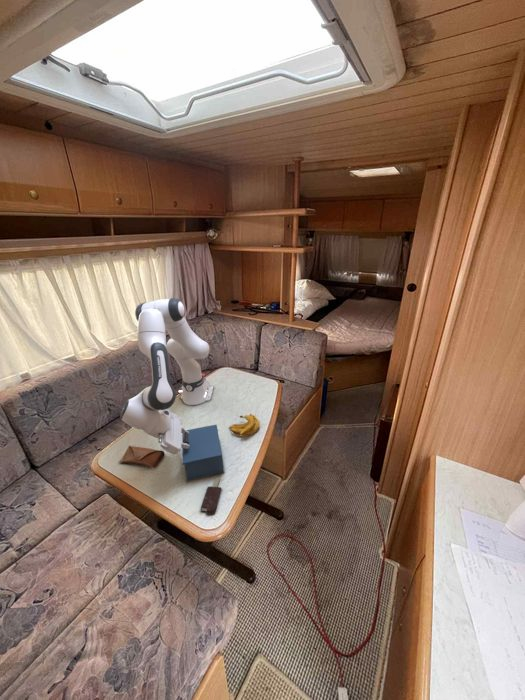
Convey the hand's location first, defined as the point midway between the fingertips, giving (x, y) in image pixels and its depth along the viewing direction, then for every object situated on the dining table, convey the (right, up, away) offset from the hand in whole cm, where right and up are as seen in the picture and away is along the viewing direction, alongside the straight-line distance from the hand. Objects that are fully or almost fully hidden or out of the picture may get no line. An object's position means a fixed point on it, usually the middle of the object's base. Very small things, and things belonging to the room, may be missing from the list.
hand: (188, 440), depth 115 cm
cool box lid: (+5, -2, +2) cm, 6 cm away
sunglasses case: (-22, -11, +7) cm, 26 cm away
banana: (+22, -2, +25) cm, 33 cm away
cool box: (+6, -10, +6) cm, 13 cm away
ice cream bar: (+12, -18, -11) cm, 24 cm away
